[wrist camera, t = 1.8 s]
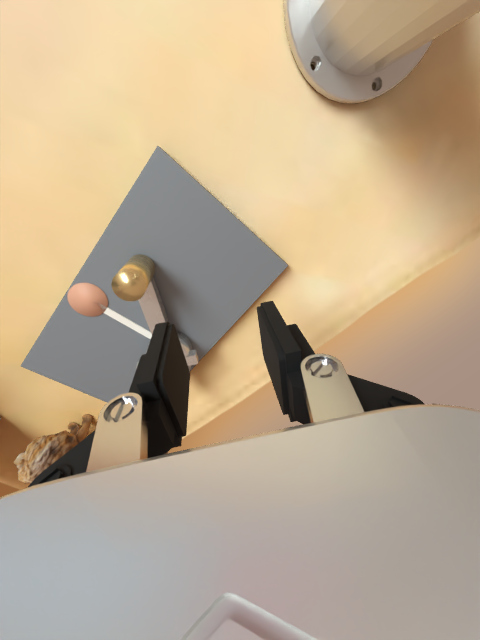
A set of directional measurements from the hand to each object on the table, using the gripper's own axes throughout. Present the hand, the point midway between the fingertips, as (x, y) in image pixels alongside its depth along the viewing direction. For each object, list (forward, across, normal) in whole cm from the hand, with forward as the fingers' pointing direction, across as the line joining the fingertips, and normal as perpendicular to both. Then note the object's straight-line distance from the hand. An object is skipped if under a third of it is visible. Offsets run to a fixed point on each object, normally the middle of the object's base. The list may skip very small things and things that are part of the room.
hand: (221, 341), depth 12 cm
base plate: (+17, +8, +6) cm, 20 cm away
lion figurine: (+18, +23, +23) cm, 37 cm away
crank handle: (+16, +7, +7) cm, 19 cm away
